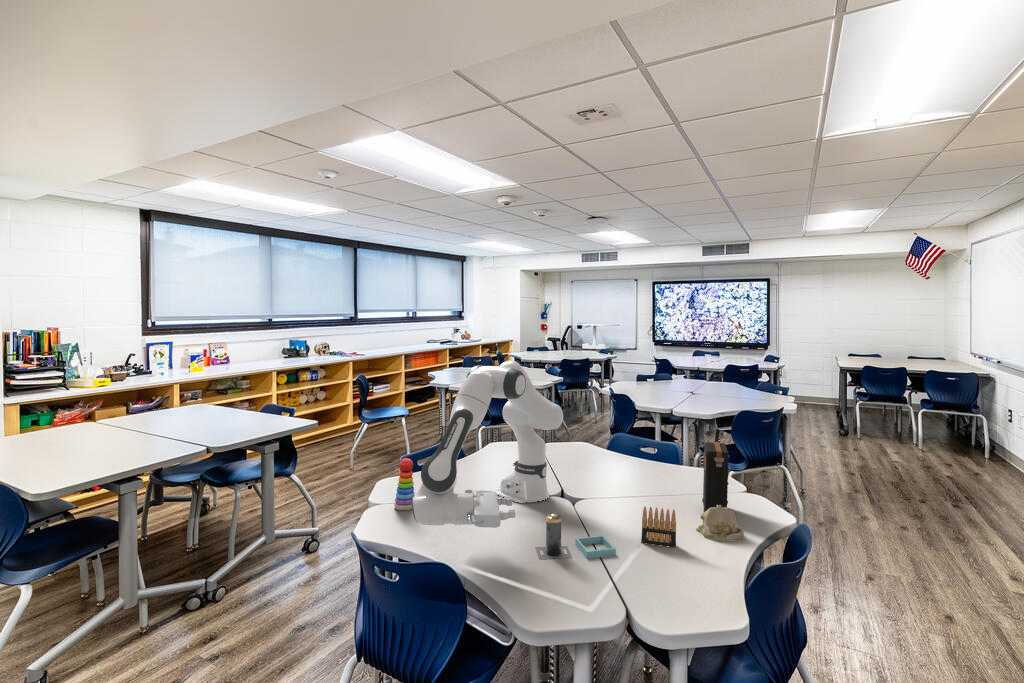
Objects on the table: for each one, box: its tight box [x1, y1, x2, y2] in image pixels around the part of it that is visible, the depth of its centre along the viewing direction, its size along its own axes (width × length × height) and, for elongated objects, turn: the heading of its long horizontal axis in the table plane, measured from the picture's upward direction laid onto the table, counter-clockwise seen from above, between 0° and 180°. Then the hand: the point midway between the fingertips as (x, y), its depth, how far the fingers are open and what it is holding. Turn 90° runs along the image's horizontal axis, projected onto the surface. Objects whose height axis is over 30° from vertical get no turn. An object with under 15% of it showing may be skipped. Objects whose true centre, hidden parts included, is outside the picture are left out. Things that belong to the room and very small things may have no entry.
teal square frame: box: [574, 534, 617, 560], centre depth 149 cm, size 9×9×3 cm
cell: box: [545, 513, 563, 556], centre depth 147 cm, size 5×5×12 cm
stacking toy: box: [393, 457, 416, 511], centre depth 185 cm, size 8×8×19 cm
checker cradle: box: [535, 545, 573, 561], centre depth 148 cm, size 10×8×1 cm
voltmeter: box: [701, 441, 730, 513], centre depth 182 cm, size 16×9×25 cm, turn 161°
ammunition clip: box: [640, 505, 677, 548], centre depth 156 cm, size 11×2×12 cm, turn 73°
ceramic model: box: [695, 505, 745, 542], centre depth 163 cm, size 14×11×10 cm
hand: (513, 507), depth 146 cm, fingers open, 8 cm apart
